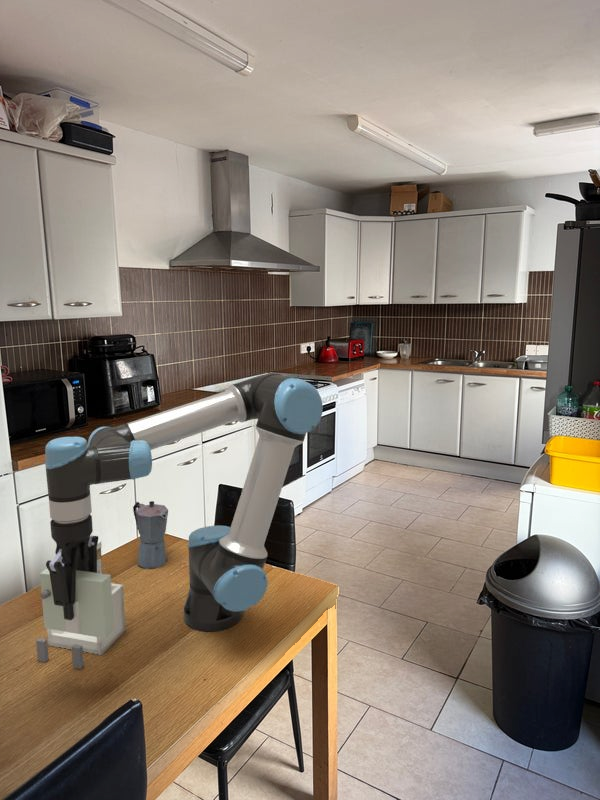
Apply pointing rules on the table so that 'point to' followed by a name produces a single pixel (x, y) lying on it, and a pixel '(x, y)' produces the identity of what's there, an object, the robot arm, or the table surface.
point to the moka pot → (151, 534)
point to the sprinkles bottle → (99, 558)
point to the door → (82, 604)
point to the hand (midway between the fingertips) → (79, 626)
